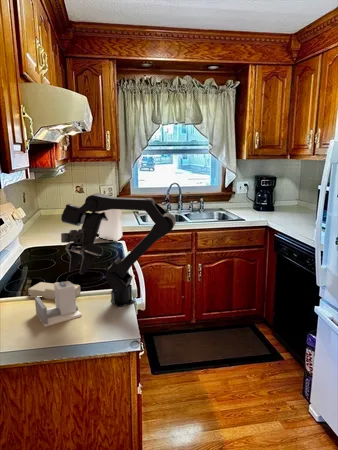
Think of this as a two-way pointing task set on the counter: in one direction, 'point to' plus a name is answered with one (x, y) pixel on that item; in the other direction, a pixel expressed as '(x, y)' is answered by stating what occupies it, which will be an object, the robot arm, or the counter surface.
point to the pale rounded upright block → (111, 225)
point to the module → (65, 297)
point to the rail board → (52, 314)
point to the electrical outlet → (48, 290)
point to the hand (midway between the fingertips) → (75, 273)
